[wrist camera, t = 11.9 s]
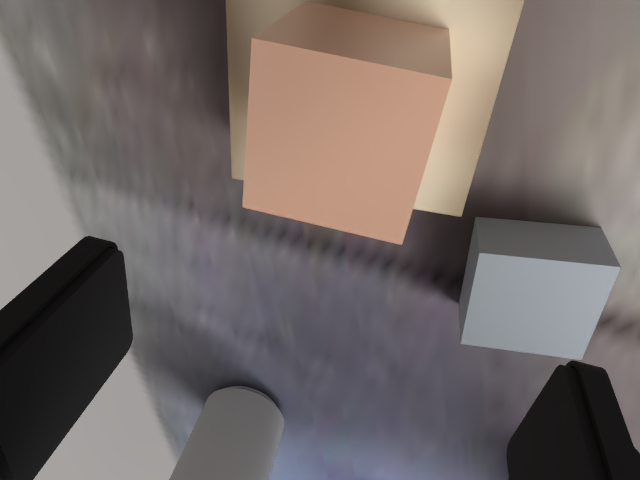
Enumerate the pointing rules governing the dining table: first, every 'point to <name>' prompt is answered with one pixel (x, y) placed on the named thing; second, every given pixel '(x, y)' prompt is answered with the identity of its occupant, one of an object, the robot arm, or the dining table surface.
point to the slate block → (535, 286)
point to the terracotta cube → (343, 118)
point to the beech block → (463, 96)
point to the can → (232, 438)
